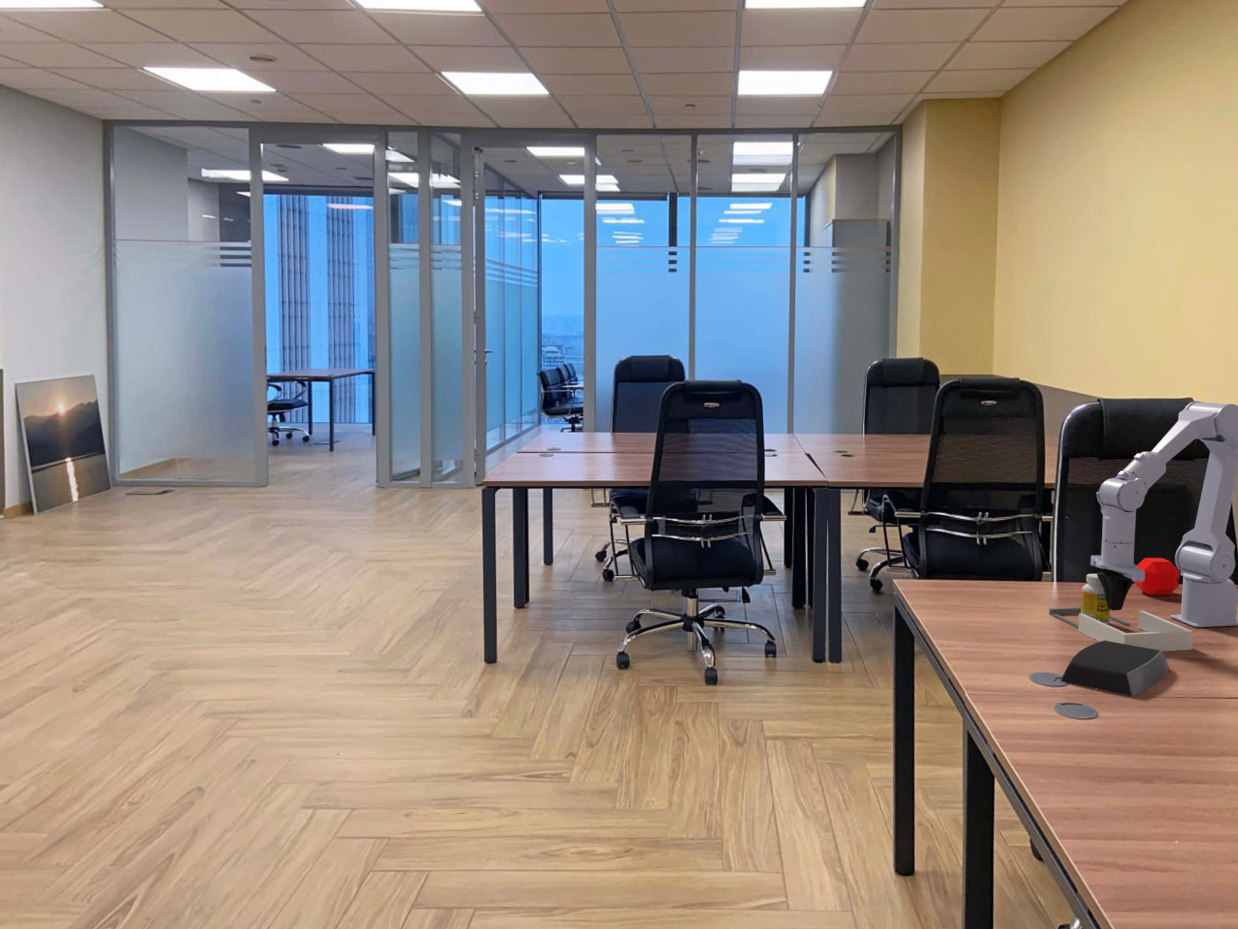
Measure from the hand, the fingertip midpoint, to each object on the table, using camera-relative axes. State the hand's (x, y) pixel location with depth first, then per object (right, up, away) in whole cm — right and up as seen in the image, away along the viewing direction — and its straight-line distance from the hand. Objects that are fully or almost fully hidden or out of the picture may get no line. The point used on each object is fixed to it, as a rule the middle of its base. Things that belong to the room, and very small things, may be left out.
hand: (1114, 609), depth 213 cm
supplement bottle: (-1, -4, +6) cm, 7 cm away
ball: (+23, -1, +30) cm, 38 cm away
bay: (+1, -5, -5) cm, 7 cm away
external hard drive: (-12, -8, -26) cm, 30 cm away
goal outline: (-1, -3, +8) cm, 9 cm away
